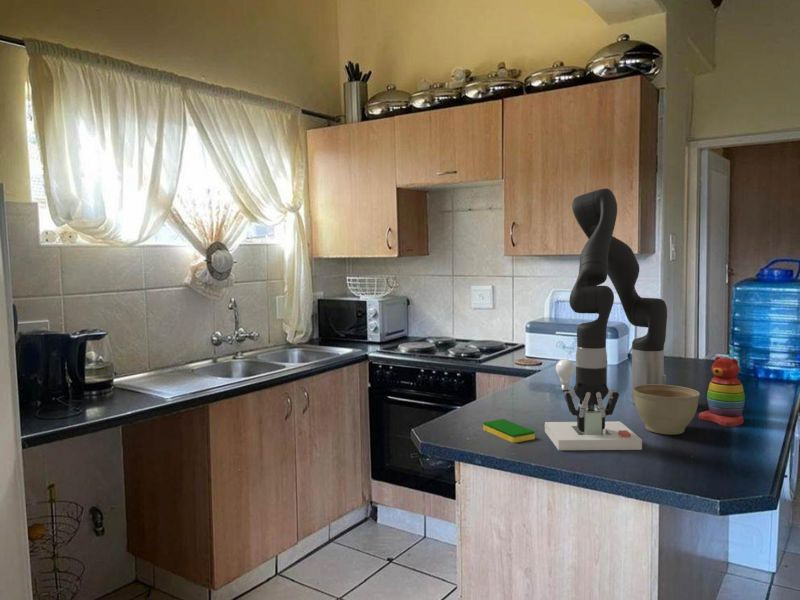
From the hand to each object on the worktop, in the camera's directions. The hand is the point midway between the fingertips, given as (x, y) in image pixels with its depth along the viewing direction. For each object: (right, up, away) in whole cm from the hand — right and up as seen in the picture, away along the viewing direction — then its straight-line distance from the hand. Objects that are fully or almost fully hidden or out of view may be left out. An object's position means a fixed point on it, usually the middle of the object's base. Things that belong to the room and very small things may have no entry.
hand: (590, 430), depth 156 cm
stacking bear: (+42, -1, +16) cm, 45 cm away
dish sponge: (-20, -3, +7) cm, 21 cm away
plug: (0, -1, 0) cm, 1 cm away
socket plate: (0, -2, 0) cm, 2 cm away
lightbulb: (+8, +2, +56) cm, 56 cm away
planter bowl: (+22, -2, +7) cm, 24 cm away
